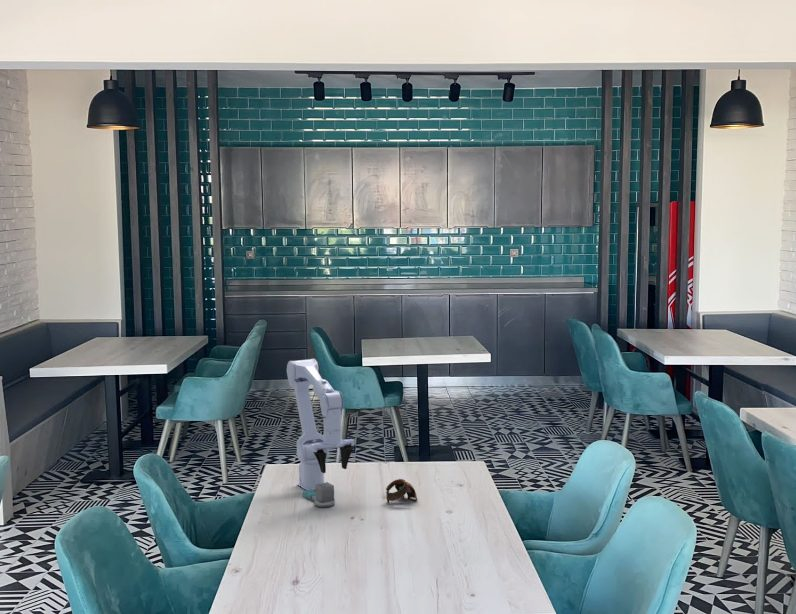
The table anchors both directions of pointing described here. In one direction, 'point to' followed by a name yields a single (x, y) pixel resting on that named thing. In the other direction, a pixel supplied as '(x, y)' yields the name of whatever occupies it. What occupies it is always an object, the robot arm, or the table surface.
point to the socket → (324, 492)
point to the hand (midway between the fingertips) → (333, 470)
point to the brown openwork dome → (400, 490)
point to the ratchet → (312, 496)
